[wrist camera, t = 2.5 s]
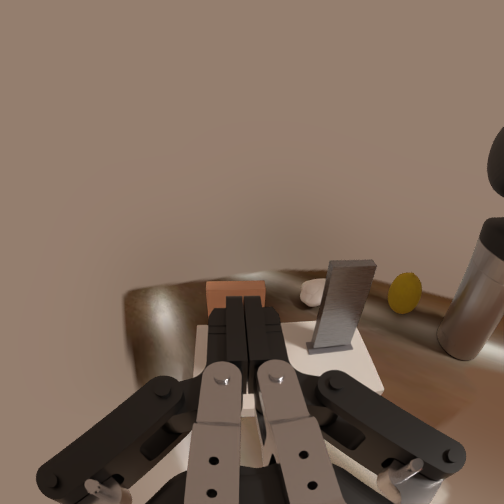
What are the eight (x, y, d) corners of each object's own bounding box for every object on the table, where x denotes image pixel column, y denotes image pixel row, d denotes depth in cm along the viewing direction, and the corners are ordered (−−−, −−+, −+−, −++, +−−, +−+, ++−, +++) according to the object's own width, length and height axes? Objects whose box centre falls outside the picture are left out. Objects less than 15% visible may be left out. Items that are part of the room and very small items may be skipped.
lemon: (416, 317, 41) (434, 278, 37) (396, 327, 39) (414, 287, 35) (396, 298, 46) (410, 260, 42) (375, 307, 44) (389, 267, 40)
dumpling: (333, 314, 43) (338, 294, 41) (301, 315, 42) (305, 295, 40) (324, 287, 49) (328, 268, 47) (295, 287, 49) (298, 268, 47)
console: (348, 327, 40) (352, 316, 39) (378, 398, 29) (385, 388, 28) (198, 335, 38) (197, 324, 37) (193, 417, 27) (190, 408, 26)
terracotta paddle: (258, 363, 31) (264, 280, 25) (259, 371, 30) (265, 289, 24) (214, 364, 31) (206, 281, 24) (214, 373, 30) (206, 290, 23)
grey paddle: (347, 337, 35) (372, 259, 28) (350, 343, 34) (376, 265, 27) (311, 341, 34) (329, 260, 28) (313, 348, 33) (333, 267, 27)
